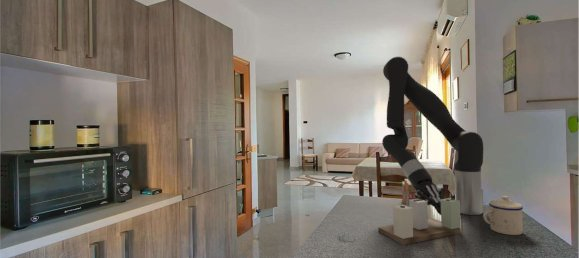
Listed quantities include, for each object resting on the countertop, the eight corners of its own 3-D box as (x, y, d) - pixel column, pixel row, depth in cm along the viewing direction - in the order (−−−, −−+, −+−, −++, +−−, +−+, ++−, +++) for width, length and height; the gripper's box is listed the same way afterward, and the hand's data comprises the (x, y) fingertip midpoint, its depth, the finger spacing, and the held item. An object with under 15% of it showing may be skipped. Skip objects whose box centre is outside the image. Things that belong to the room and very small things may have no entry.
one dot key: (403, 232, 91) (403, 203, 91) (413, 236, 88) (412, 207, 88) (393, 234, 90) (393, 205, 90) (402, 238, 86) (402, 208, 86)
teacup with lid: (508, 225, 100) (508, 192, 100) (530, 235, 91) (530, 199, 91) (475, 226, 100) (474, 193, 100) (494, 236, 91) (493, 200, 91)
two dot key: (450, 223, 98) (449, 197, 98) (460, 227, 94) (459, 199, 94) (441, 225, 97) (440, 198, 97) (451, 229, 93) (450, 201, 93)
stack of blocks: (402, 200, 137) (401, 175, 137) (415, 200, 136) (415, 175, 136) (409, 213, 117) (408, 183, 117) (425, 214, 115) (424, 184, 115)
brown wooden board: (431, 221, 106) (431, 217, 106) (460, 232, 94) (460, 228, 94) (378, 231, 97) (378, 227, 97) (403, 244, 86) (403, 239, 86)
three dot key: (418, 224, 98) (418, 197, 98) (427, 228, 95) (427, 200, 95) (409, 225, 97) (409, 199, 97) (418, 229, 93) (417, 201, 93)
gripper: (407, 169, 105) (435, 210, 93) (434, 166, 109) (464, 206, 98) (398, 180, 110) (423, 221, 98) (424, 177, 114) (451, 216, 103)
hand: (444, 213), depth 98 cm, fingers closed
